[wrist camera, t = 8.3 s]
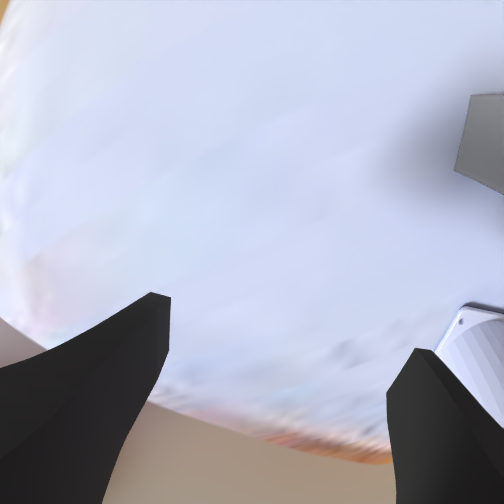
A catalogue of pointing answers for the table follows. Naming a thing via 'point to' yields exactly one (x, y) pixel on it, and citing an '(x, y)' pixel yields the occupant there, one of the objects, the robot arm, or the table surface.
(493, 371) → the robot arm
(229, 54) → the table surface
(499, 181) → the grey button block
